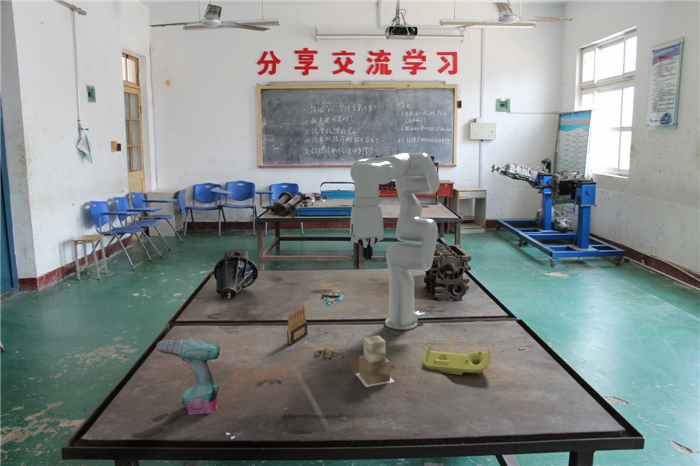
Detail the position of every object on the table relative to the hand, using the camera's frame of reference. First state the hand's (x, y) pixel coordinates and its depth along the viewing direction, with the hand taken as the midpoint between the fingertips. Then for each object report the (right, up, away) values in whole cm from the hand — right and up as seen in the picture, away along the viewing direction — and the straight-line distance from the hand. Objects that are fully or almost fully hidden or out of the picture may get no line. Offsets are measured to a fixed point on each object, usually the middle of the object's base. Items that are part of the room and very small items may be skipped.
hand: (367, 258), depth 169 cm
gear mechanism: (-14, -22, +67) cm, 72 cm away
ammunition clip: (-25, -30, +21) cm, 44 cm away
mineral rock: (-13, -34, +4) cm, 36 cm away
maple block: (+2, -29, -13) cm, 32 cm away
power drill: (-48, -40, -26) cm, 68 cm away
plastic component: (+28, -35, -5) cm, 45 cm away
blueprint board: (+1, -36, -11) cm, 38 cm away
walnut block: (+2, -35, -12) cm, 37 cm away
